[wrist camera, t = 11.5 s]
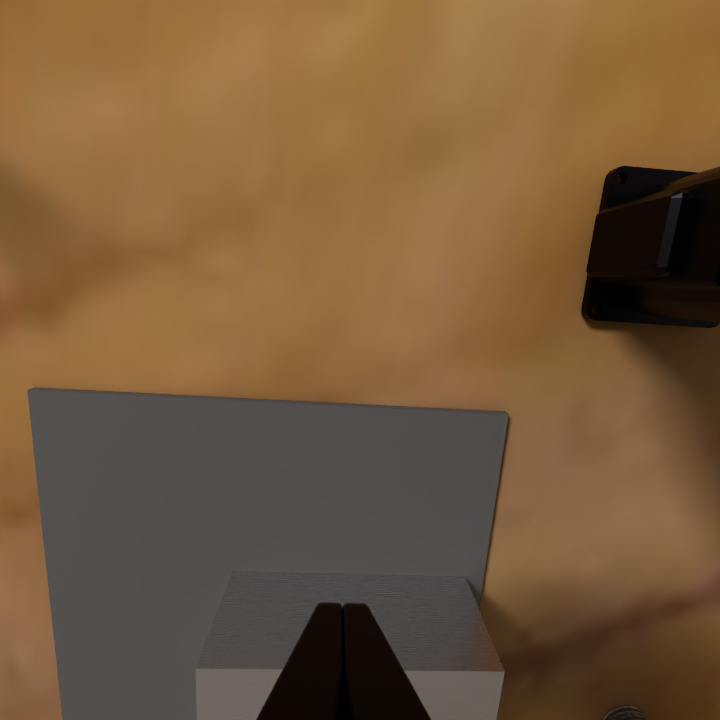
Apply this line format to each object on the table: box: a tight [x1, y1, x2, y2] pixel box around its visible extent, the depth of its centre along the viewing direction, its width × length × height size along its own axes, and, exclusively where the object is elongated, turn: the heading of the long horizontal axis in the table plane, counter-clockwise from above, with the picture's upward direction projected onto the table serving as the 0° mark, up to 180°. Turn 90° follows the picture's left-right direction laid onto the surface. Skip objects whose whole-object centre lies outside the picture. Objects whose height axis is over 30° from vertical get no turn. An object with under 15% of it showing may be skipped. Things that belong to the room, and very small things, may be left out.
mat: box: [28, 388, 509, 720], centre depth 20 cm, size 22×22×1 cm
